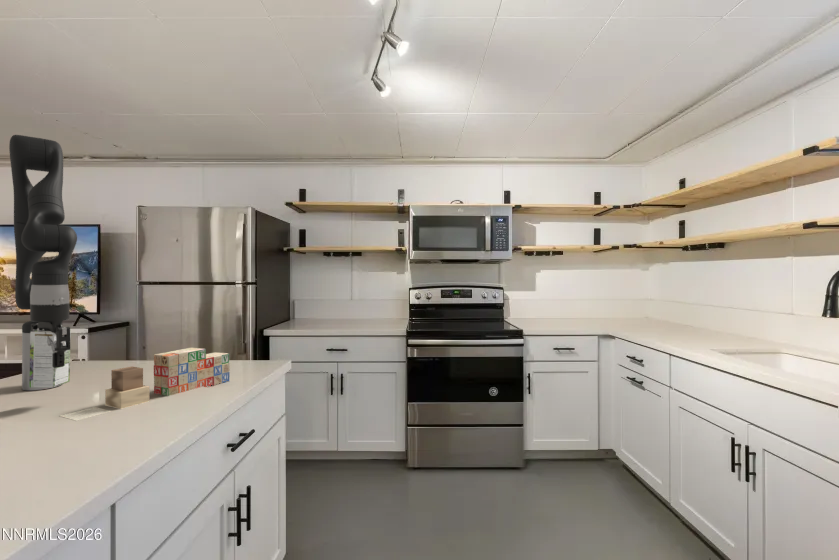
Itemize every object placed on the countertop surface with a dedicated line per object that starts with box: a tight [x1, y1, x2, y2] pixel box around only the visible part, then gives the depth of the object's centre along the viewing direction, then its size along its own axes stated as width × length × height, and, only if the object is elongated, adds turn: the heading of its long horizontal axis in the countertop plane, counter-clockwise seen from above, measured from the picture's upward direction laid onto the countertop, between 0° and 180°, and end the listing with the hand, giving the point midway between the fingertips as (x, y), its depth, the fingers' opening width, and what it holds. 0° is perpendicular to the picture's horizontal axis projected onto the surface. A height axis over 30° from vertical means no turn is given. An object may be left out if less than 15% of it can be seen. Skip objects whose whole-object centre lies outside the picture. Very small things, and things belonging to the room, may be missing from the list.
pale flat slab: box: [60, 400, 151, 422], centre depth 106 cm, size 15×17×1 cm
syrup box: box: [29, 329, 72, 389], centre depth 106 cm, size 6×6×14 cm
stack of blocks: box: [153, 347, 231, 397], centre depth 126 cm, size 21×6×12 cm, turn 157°
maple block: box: [104, 384, 150, 410], centre depth 109 cm, size 7×7×4 cm
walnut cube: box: [111, 366, 144, 391], centre depth 109 cm, size 5×5×5 cm
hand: (50, 365), depth 106 cm, fingers closed on syrup box, 7 cm apart
